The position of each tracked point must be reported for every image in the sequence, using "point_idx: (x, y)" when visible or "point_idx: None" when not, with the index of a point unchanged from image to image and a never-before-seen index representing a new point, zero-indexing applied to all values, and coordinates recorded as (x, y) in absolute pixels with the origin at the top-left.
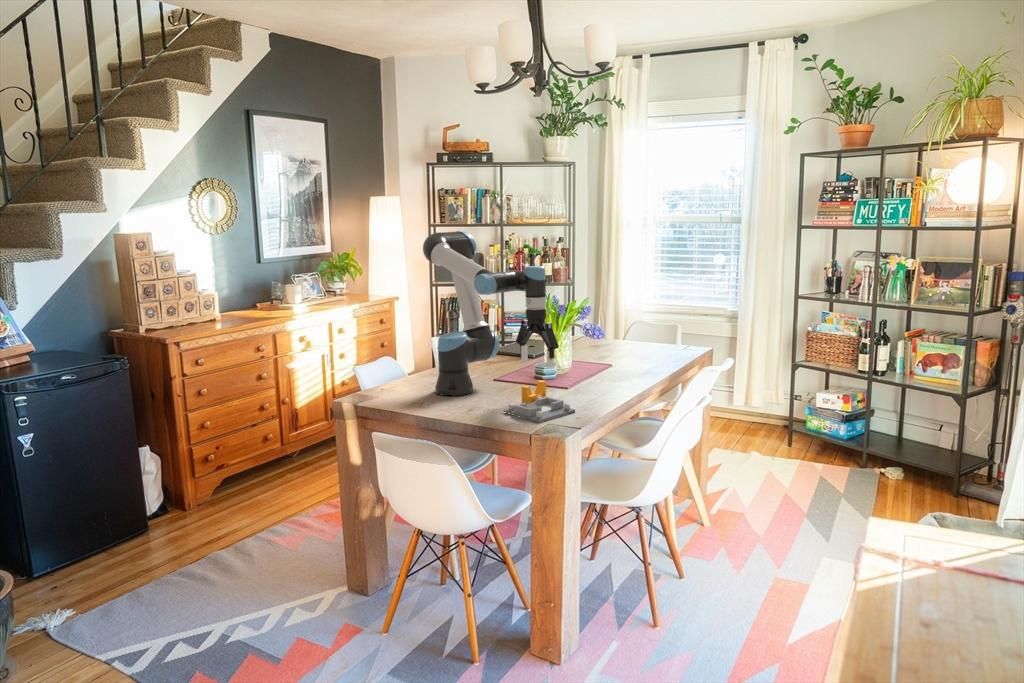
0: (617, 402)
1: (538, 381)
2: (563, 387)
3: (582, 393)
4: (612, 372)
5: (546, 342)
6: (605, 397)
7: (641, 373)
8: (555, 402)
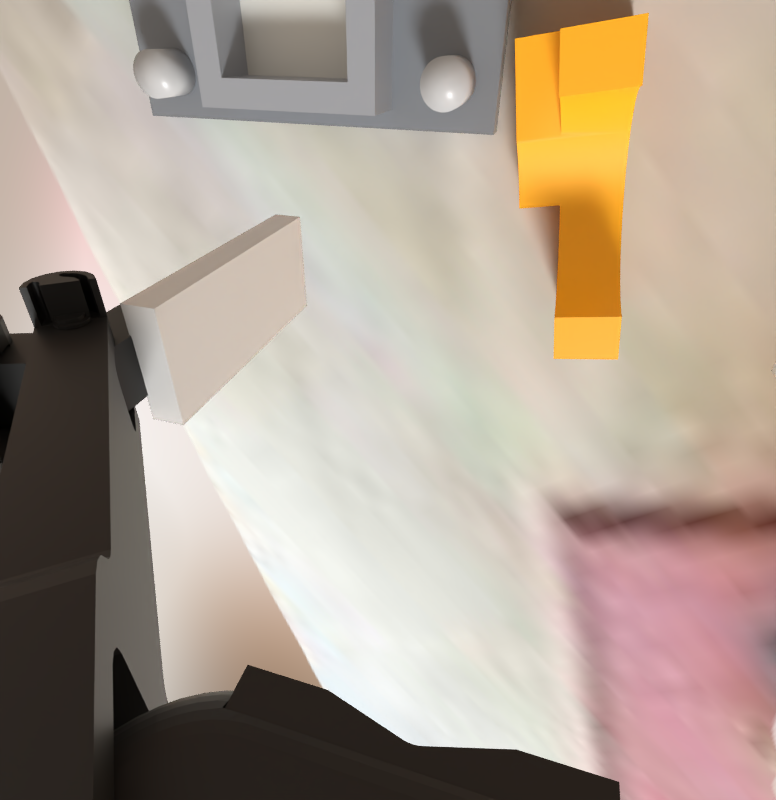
0: None
1: (609, 317)
2: (599, 528)
3: (425, 468)
4: None
5: (45, 398)
6: (291, 454)
7: None
8: (196, 7)
